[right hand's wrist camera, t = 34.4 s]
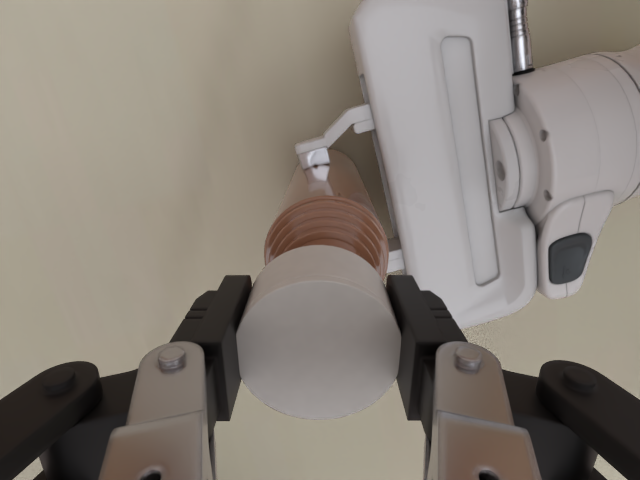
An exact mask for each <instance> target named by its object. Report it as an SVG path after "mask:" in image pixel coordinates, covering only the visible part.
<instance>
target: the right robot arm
mask: <svg viewBox="0 0 640 480" xmlns="http://www.w3.org/2000/svg"><path fill="white" fill-rule="evenodd" d="M251 290H252V283H251V277H250V275H226V276H225V277H224V279H223V281H222V283H221V285H220V287H219V288H218V290H217V291H207V292H206V293H204V294H203V295H201V296H200V297H198V298H197V299H196V300H195V302H194V303H193V305H192V307H191V308H190V311H189V312H188V313H187V315H186V316H185V319H184V320H183V321H182V323H181V324H180V326H179V328H178V329H177V331H176V332H175V334H174V336H173V337H172V339H171V341H170V342H169V343H168V344H164V345H162V346H159V347H157V348H155V349H153V350H152V351H150V352H149V353H148V354H146V355H145V356H144V358H143V359H142V360H141V362H140V365H139V368H138V369H136V370H133V371H129V372H125V373H120V374H115V375H111V376H106V377H101V378H100V376H99V372H98V369H97V367H96V366H95V365H94V364H92V363H89V362H84V361H76V362H69V363H64V364H60V365H57V366H54V367H52V368H50V369H47V370H45V371H43V372H41V373H40V374H38V375H37V376H35V377H33V378H32V379H31V380H29V381H28V382H26V383H25V384H23V385H22V386H20V387H19V388H17V389H16V390H14V391H13V392H11V393H10V394H8V395H7V396H5V397H4V398H2V399H1V400H0V480H12V479H14V478H15V477H16V476H17V475H18V474H19V473H20V472H22V471H23V470H24V469H25V468H26V467H27V466H28V465H30V464H31V463H32V462H33V461H34V460H35V459H36V458H37V457H39V458H40V461H41V464H42V467H43V471H42V472H41V473H40V474H39V475H37V476H36V477H35V478H34V479H33V480H217V464H216V443H215V435H214V426H215V423H216V421H230V418H231V414H232V411H233V407H234V404H235V400H236V397H237V393H238V389H239V386H240V382H241V377H240V371H239V361H238V350H237V340H236V332H237V329H238V326H239V324H240V321H241V318H242V315H243V312H244V309H245V307H246V304H247V301H248V298H249V295H250V292H251ZM386 290H387V293H388V296H389V299H390V302H391V305H392V308H393V311H394V314H395V317H396V320H397V323H398V326H399V329H400V332H401V349H400V359H399V370H398V375H397V377H396V379H397V383H398V386H399V390H400V394H401V397H402V401H403V405H404V408H405V412H406V416H407V419H408V420H421V422H422V425H423V428H424V431H425V434H426V435H425V443H424V464H423V480H607V479H606V478H605V477H604V476H603V475H601V474H600V473H599V472H598V471H597V470H596V469H595V468H594V464H595V461H596V458H597V455H598V454H599V455H600V456H601V457H603V458H604V459H605V460H606V461H607V462H608V463H609V464H610V465H612V466H613V467H614V468H615V469H616V470H617V471H618V472H620V473H621V474H622V475H623V476H624V477H625V478H626V479H628V480H640V400H639V399H638V398H636V397H635V396H633V395H632V394H630V393H629V392H627V391H626V390H624V389H623V388H621V387H620V386H618V385H617V384H615V383H614V382H612V381H611V380H609V379H608V378H607V377H605V376H604V375H602V374H600V373H599V372H597V371H595V370H593V369H591V368H589V367H587V366H584V365H581V364H578V363H575V362H570V361H563V360H554V361H549V362H546V363H545V364H543V365H542V367H541V369H540V373H539V377H533V376H529V375H524V374H519V373H514V372H510V371H506V370H503V369H502V368H501V365H500V362H499V360H498V359H497V358H496V356H495V355H494V354H492V353H491V352H490V351H488V350H487V349H485V348H483V347H481V346H478V345H476V344H472V343H468V341H467V340H466V338H465V336H464V335H463V333H462V331H461V330H460V328H459V326H458V325H457V323H456V322H455V320H454V319H453V318H452V315H451V313H450V312H449V310H447V307H446V305H445V304H444V302H443V300H442V299H441V298H440V297H438V296H437V295H436V294H434V293H433V292H431V291H430V290H420V289H419V287H418V285H417V283H416V281H415V279H414V277H413V276H412V275H388V277H387V283H386Z"/></svg>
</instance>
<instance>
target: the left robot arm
mask: <svg viewBox="0 0 640 480" xmlns="http://www.w3.org/2000/svg"><path fill="white" fill-rule="evenodd" d="M526 6H528V0H362V1H361V2H360V4H359V5H358V7H357V8H356V10H355V12H354V14H353V16H352V18H351V20H350V23H349V35H350V40H351V44H352V49H353V53H354V58H355V62H356V67H357V71H358V76H359V80H360V85H361V89H362V94H363V98H364V104H361V105H357V106H354V107H351V108H347V109H345V110H344V111H343V113H342V114H341V115H340V116H339V117H338V118H337V119H336V120H335V121H334V122H333V123H332V124H331V125H330V126H329V127H328V128H327V129H326V130H325V131H324V133H323V135H322V136H318V137H315V138H311V139H308V140H304V141H301V142H299V143H296V144H295V145H294V147H295V150H296V154H297V157H298V160H299V163H300V167H301V170H306V169H309V168H311V167H313V166H314V165H315V164H316V165H324V164H328V163H330V159H329V155H328V151H327V149H328V148H329V147H330V146H331V145H332V144H333V143H334V142H335V141H336V140H337V139H338V138H339V137H340V136H341V135H342V134H343V133H344V132H345V131H346V130H347V129H348V128H349V127H350V126H351V130H353V131H354V132H355V133H357V134H359V133H362V132H366V131H370V130H371V135H372V139H373V144H374V148H375V153H376V157H377V162H378V166H379V171H380V175H381V180H382V184H383V189H384V193H385V198H386V202H387V207H388V211H389V216H390V220H391V225H392V229H393V234H394V238H391V239H388V240H387V241H388V246H389V260H388V268H387V272H386V273H389V272H393V271H397V270H402V275H412V276H413V277H414V279H415V281H416V283H417V285H418V287H419V289H420V290H430V291H431V292H433V293H434V294H436V295H437V296H438V297H440V298H441V299H442V300H443V302H444V304H445V305H446V307H447V310H449V312H450V313H451V315H452V318H453V319H454V320H455V322H456V323H457V325H458V326H459V328H460V329H464V328H468V327H472V326H476V325H479V324H483V323H486V322H490V321H493V320H496V319H499V318H502V317H505V316H507V315H510V314H512V313H514V312H516V311H518V310H520V309H521V308H523V307H524V306H525V305H527V304H528V303H529V302H530V300H531V299H532V298H533V296H534V294H535V291H536V290H537V291H538V292H540V293H541V294H543V295H544V296H546V297H547V298H549V299H560V298H565V297H568V296H571V295H573V294H575V293H576V292H577V291H578V290H579V289H580V287H581V285H582V283H583V280H584V277H585V274H586V271H587V268H588V265H589V262H590V259H591V256H592V253H593V250H594V247H595V245H596V242H597V240H598V237H599V235H600V232H601V230H602V228H603V226H604V224H605V222H606V220H607V218H608V216H609V214H610V212H611V210H612V207H613V206H615V205H618V204H620V203H622V202H624V201H626V200H628V199H630V198H633V197H635V196H639V195H640V43H639V44H638V45H636V46H634V47H633V48H631V49H628V50H625V51H621V52H595V53H590V54H585V55H582V56H578V57H575V58H572V59H568V60H565V61H561V62H558V63H554V64H551V65H547V66H544V67H540V68H536V69H535V68H534V69H533V60H532V47H531V37H530V33H529V32H530V31H529V28H528V22H527V17H526V16H527V7H526ZM326 146H327V147H326Z"/></svg>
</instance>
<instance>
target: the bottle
mask: <svg viewBox="0 0 640 480" xmlns="http://www.w3.org/2000/svg"><path fill="white" fill-rule="evenodd" d="M327 151H328V155H329V159H330V163H328V164H324V165H316V164H315V165H314V166H313V167H311V168H309V169H306V170H301V167H300V163H299V164H298V165H297V167H296V169H295V172H294V174H293V176H292V179H291V181H290V183H289V186H288V188H287V190H286V193H285V195H284V197H283V200H282V202H281V204H280V206H279V209H278V211H277V213H276V216H275V218H274V220H273V223H272V225H271V227H270V230H269V232H268V235H267V238H266V241H265V247H264V258H265V266H266V265H267V264H268V263H270V262H271V261H272V260H274V259H275V258H276V257H278V256H280V255H281V254H283V253H285V252H287V251H290V250H292V249H295V248H299V247H303V246H310V245H327V246H334V247H339V248H342V249H345V250H348V251H351V252H352V253H354V254H356V255H358V256H360V257H361V258H363V259H364V260H366V261H367V262H368V263H369V264H370V265H371V266H372V267H373V268H374V269H375V270H376V271H377V273H378V274H379V276H380V277H381V279H382V280H384V278H385V276H386V272H387V268H388V260H389V246H388V241H387V237H386V234H385V232H384V229H383V227H382V225H381V222H380V220H379V218H378V216H377V213H376V211H375V209H374V206H373V204H372V202H371V199H370V197H369V195H368V193H367V190H366V188H365V186H364V183H363V181H362V179H361V177H360V174H359V172H358V170H357V167H356V166H355V164H354V162H353V161H352V160H351V159H350V158H349V157H348V156H347V155H345V154H344V153H342V152H340V151H337V150H333V149H327Z"/></svg>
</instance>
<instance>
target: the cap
mask: <svg viewBox="0 0 640 480" xmlns="http://www.w3.org/2000/svg"><path fill="white" fill-rule="evenodd" d="M236 340H237V350H238V361H239V371H240V377H241V379H242V380H243V382H244V383H245V385H246V387H247V388H248V389H249V390H250V391H251V392H252V394H254V395H255V396H256V397H257V398H258V399H259V400H260V401H262V402H263V403H265V404H266V405H267V406H269V407H271V408H273V409H275V410H276V411H279V412H281V413H284V414H286V415H290V416H293V417H298V418H303V419H312V420H326V419H335V418H340V417H344V416H348V415H351V414H354V413H356V412H359V411H361V410H363V409H365V408H367V407H368V406H370V405H372V404H373V403H374V402H376V401H377V400H378V399H380V398H381V397H382V396H383V395H384V394H385V393H386V392H387V391H388V389H389V388H390V387H391V386H392V384H393V382H394V381H395V379H396V377H397V375H398V370H399V359H400V349H401V332H400V329H399V326H398V323H397V320H396V317H395V314H394V311H393V308H392V305H391V302H390V299H389V296H388V293H387V290H386V287H385V285H384V283H383V280H382V279H381V277H380V276H379V274H378V273H377V271H376V270H375V269H374V268H373V267H372V266H371V265H370V264H369V263H368V262H367V261H366V260H364V259H363V258H361V257H360V256H358V255H356V254H354V253H352V252H351V251H348V250H345V249H342V248H339V247H334V246H327V245H310V246H303V247H299V248H295V249H292V250H290V251H287V252H285V253H283V254H281V255H280V256H278V257H276V258H275V259H274V260H272V261H271V262H270V263H268V264H267V265H266V266H265V267H264V268H263V270H262V271H261V272H260V274H259V275H258V276H257V278H256V280H255V282H254V284H253V287H252V290H251V292H250V295H249V298H248V301H247V304H246V307H245V309H244V312H243V315H242V318H241V321H240V324H239V326H238V329H237V332H236Z"/></svg>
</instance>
